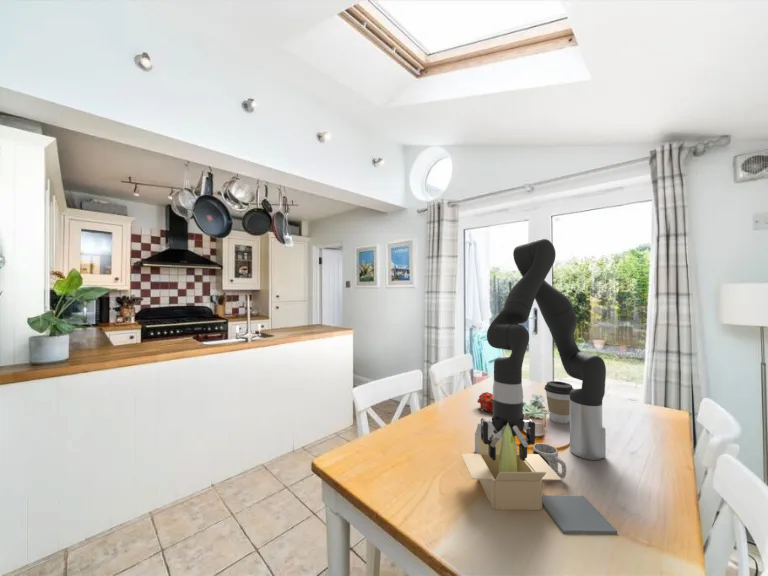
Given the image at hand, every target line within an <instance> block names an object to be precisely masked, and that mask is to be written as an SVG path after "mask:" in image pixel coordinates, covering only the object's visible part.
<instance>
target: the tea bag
mask: <svg viewBox="0 0 768 576" xmlns="http://www.w3.org/2000/svg"><path fill="white" fill-rule="evenodd" d="M493 429H494V426H493V425H491V426H490V428H489V429H488V435H491V432H492V430H493ZM497 433H498V432H497ZM477 435H481V422H480V423H477V427H476V430H475V432H474V452H475V454H480V450H479V444H478V439H477Z"/></svg>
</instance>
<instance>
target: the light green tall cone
mask: <svg viewBox="0 0 768 576" xmlns="http://www.w3.org/2000/svg"><path fill="white" fill-rule="evenodd" d="M515 441H516V439H514V437H513V435H512V431H511V428H510V426H509V424H508V422H507V425H506V428H505V430H504V433H503V437H502V443H501V450H500V460H499V472H517V458H516V447H515Z"/></svg>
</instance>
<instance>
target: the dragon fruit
mask: <svg viewBox="0 0 768 576" xmlns="http://www.w3.org/2000/svg"><path fill="white" fill-rule="evenodd" d="M476 402H477V403H478V404H479V405H480V409H481V410H484V409H485V411H486V412H488V413H490V414H493V393H490V392H489V391H485V392H482V393H481V394H480V395H479V396H478V399H477V401H476Z"/></svg>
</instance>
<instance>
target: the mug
mask: <svg viewBox="0 0 768 576" xmlns="http://www.w3.org/2000/svg"><path fill="white" fill-rule="evenodd" d="M558 451H559V450H558V448H556V447H555V446H553V445H550V444H547V443H544V442H543V443H541V442H540V443H539V442H538V443H535V444H534V445H532V454H539V455H540V456H541V457H542V459H543V460H544V461H545V462H546V463H547V464H548V465H549V466H550V467H551V468H552V469H553V470H554V472H555V473H556V474H557V475H558V476H559V477H560V478H561V479H565V478H566V476H567V465H566V462H565V461H563V459H561V458H560V457H559V452H558ZM559 464H560V465H561V472H560V471H559Z"/></svg>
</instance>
